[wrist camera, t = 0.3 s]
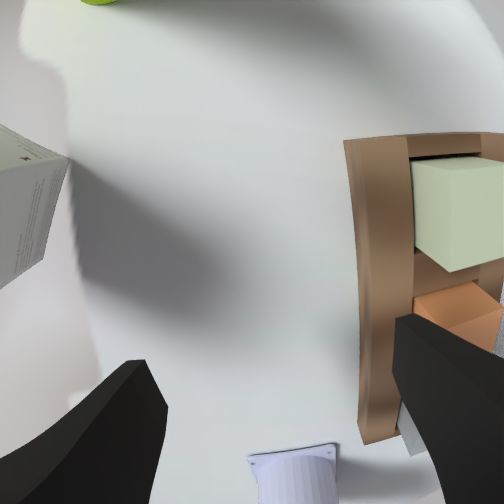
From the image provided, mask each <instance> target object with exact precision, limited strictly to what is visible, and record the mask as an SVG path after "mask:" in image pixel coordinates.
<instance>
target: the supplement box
mask: <svg viewBox="0 0 504 504" xmlns="http://www.w3.org/2000/svg"><path fill="white" fill-rule="evenodd" d="M68 163H69V159H68V158H67V157H64V156H62V155H60V154H57V153H55V152H53V151H51V150H48V149H46V148H44V147H42V146H40V145H38V144H36V143H34V142H32V141H30V140H28V139H26V138H24V137H23V136H21V135H19V134H17V133H15V132H13V131H12V130H10V129H8V128H6V127H4V126H3V125H2V124H0V289H2V288H3V287H4V286H6V285H7V284H8V283H10V282H11V281H12V280H14V279H15V278H17V277H18V276H19V275H21V274H22V273H23V272H25V271H26V270H28V269H29V268H31V267H32V266H33V265H35V264H36V263H38V262H39V261H41V260H42V259H43V256H44V252H45V247H46V243H47V238H48V234H49V230H50V226H51V222H52V218H53V214H54V211H55V207H56V203H57V200H58V196H59V193H60V190H61V186H62V183H63V179H64V177H65V173H66V170H67V167H68Z"/></svg>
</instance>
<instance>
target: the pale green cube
mask: <svg viewBox="0 0 504 504" xmlns="http://www.w3.org/2000/svg"><path fill="white" fill-rule="evenodd" d="M409 165H410V176H411V188H412V203H413V227H414V246H416V247H417V248H418V249H420V250H421V251H422V252H424V253H425V254H426V255H428V256H429V257H430V258H432V259H433V260H434V261H436V262H437V263H438V264H439V265H441V266H442V267H443V268H444V269H446V270H447V271H448V272H453V271H457V270H460V269H464V268H467V267H471V266H475V265H478V264H482V263H485V262H488V261H492V260H495V259H499V258H502V257H504V162H499V161H494V160H489V159H483V158H478V157H472V156H462V157H449V158H437V159H425V160H415V161H409Z"/></svg>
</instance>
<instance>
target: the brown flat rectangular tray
mask: <svg viewBox="0 0 504 504" xmlns="http://www.w3.org/2000/svg"><path fill="white" fill-rule="evenodd" d="M343 143H344V149H345V155H346V162H347V169H348V177H349V184H350V192H351V201H352V210H353V220H354V230H355V242H356V255H357V270H358V289H359V318H360V375H359V403H358V421H357V424H358V427H359V431H360V434H361V437H362V440H363V443H364V445H368V444H371V443H375V442H379V441H382V440H385V439H389V438H392V437H395V436H398V435H401V432H400V430H399V428H398V425H397V423H396V421H397V417H398V412H399V406H400V401H401V396H400V393H399V391H398V388H397V385H396V382H395V380H394V377H393V374H392V362H393V350H394V335H395V318H397V317H401V316H405V315H408V314H412V299H413V297H414V296H418V295H422V294H426V293H429V292H433V291H437V290H440V289H444V288H447V287H451V286H454V285H458V284H461V283H465V282H468V281H472V282H474V283H475V284H476V285H478V286H479V287H480V288H481V289H482V290H484V291H485V292H486V293H487V294H489V295H490V296H491V297H492V298H493V299H495V300H496V301H497V302H498V303H499V302H500V297H501V292H502V286H503V280H504V257H502V258H499V259H495V260H492V261H488V262H485V263H482V264H478V265H475V266H471V267H467V268H464V269H460V270H457V271H453V272H448V271H447V270H446V269H444V268H443V267H442V266H441V265H439V264H438V263H437V262H436V261H434V260H433V259H432V258H430V257H429V256H428V255H426V254H425V253H424V252H422V251H421V250H420V249H418V248H417V247H416V246H414V227H413V203H412V188H411V176H410V165H409V157H418V156H429V155H441V154H455V153H458V157H462V156H472V157H478V158H483V159H489V160H494V161H499V162H504V134H503V133H490V132H448V133H425V134H408V135H395V136H383V137H372V138H362V139H353V140H344V141H343Z"/></svg>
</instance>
